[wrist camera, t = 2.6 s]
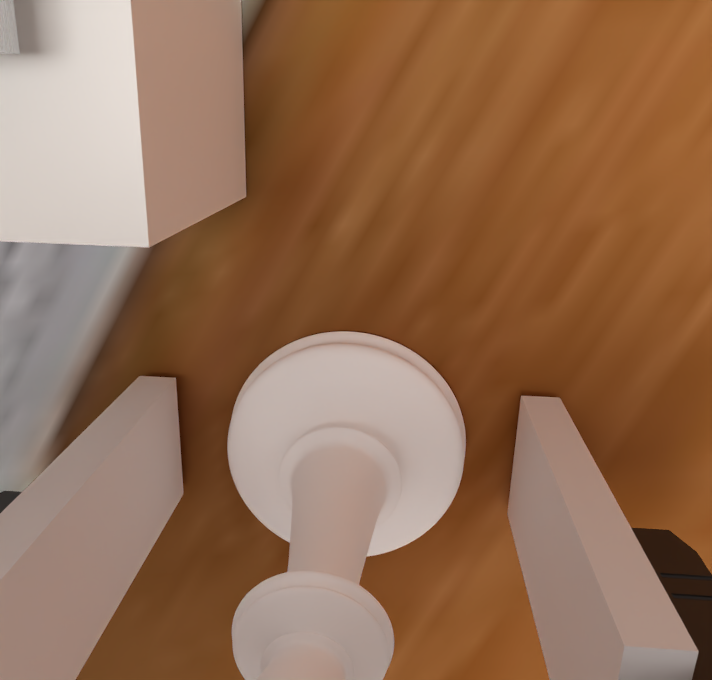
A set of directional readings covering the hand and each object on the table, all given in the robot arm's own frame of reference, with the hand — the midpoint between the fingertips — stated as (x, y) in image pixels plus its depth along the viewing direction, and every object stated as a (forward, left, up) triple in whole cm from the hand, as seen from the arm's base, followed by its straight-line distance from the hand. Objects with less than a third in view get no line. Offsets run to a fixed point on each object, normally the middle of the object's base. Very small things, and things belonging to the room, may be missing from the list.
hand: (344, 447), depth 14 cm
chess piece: (0, 0, -1) cm, 1 cm away
